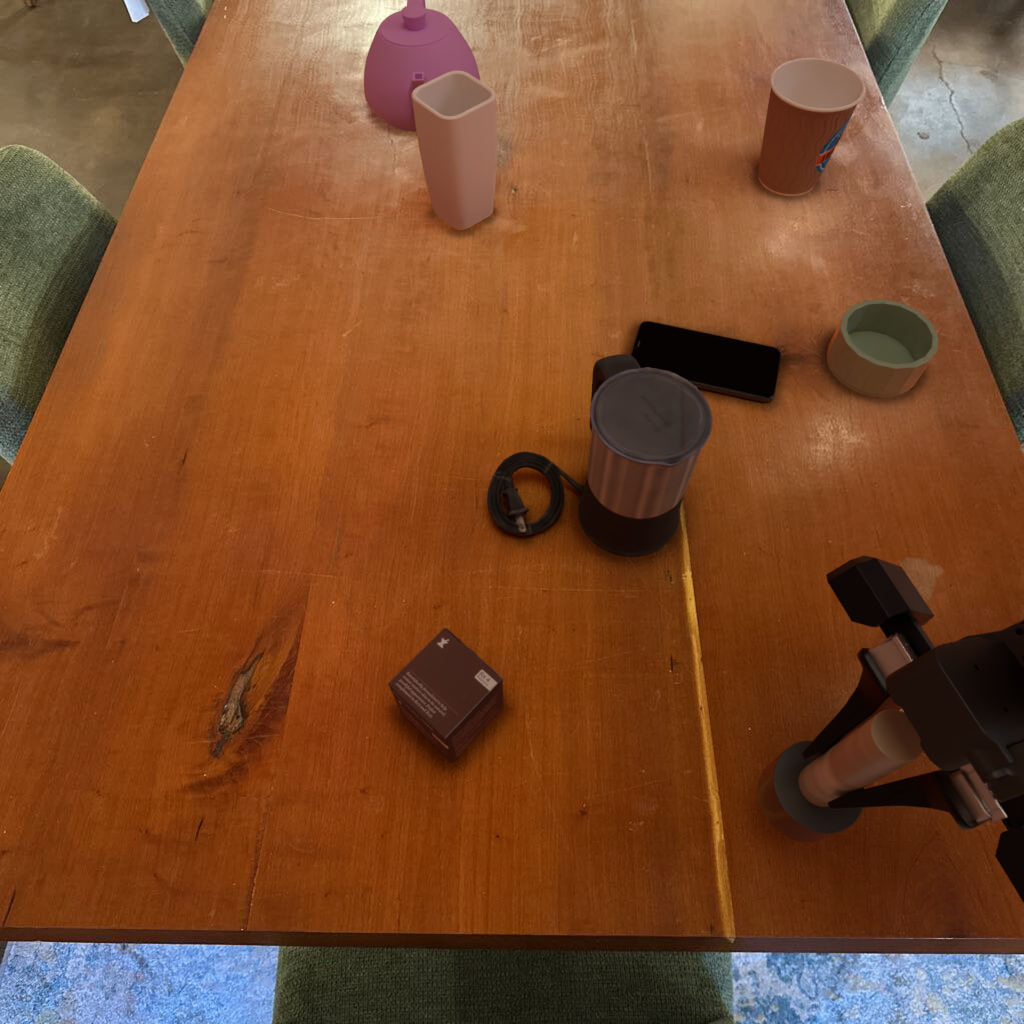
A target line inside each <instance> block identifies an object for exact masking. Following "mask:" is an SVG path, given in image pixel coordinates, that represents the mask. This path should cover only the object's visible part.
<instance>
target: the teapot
mask: <svg viewBox="0 0 1024 1024" xmlns="http://www.w3.org/2000/svg"><path fill="white" fill-rule="evenodd" d="M371 41H372V42H371V43H370V46H369V49H368V51H367V54H366V58H365V64H364V68H363V69H364V70H363V71H364V72H363V91H364V99H365V101H366V103H367V105H368V106H369V108H370V110H371V111H372V112H373V113H374V114H375V115H376V116H377V117H379V118H380V119H381V120H382V121H383V122H385V123H386V124H388V125H389V126H391V127H393V128H395V129H398V130H401V131H405V132H409V133H410V132H411V133H417V131H416V124H415V116H414V109H413V101H412V92H413V91H414V89H416V88H417V87H419V86H421V85H423V84H425V83H427V82H429V81H431V80H433V79H435V78H437V77H439V76H441V75H443V74H445V73H448V72H451V71H464V72H466V73H469V74H470V75H472V76H473V77H475V78H476V79H478V80H479V81H481V76H480V71H479V67H478V64H477V60H476V58H475V55H474V52H473V51H472V49H471V47H470V44H469V43H468V42H467V40H466V39H465V37H464V36H463V34H462V33H461V31H460V29H459V28H458V27H457V26H456V24H455V23H454V22H453V21H452V19H451V18H450V17H449V16H447V15H446V14H444V13H443V12H441V11H438V10H435V9H432V8H427V5H426V0H406V6H403V8H402V9H401V10H399V11H396V12H394V13H391V14H390V15H388V16H387V17H385V18H384V19H383V20H382V21H381V23H380V24H379V26H378V27H377V29H376V31H375V34H374V37H373V38H372V40H371Z"/></svg>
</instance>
